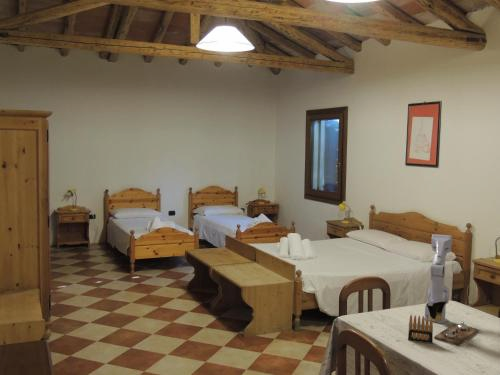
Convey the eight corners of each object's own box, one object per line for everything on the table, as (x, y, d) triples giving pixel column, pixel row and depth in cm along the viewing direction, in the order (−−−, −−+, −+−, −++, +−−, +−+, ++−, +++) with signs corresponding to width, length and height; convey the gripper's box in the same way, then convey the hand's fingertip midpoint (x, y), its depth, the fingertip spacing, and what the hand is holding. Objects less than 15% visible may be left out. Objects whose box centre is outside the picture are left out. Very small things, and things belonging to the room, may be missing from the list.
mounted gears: (442, 336, 234) (442, 329, 234) (459, 325, 249) (459, 319, 248) (453, 340, 231) (454, 333, 230) (470, 328, 245) (470, 322, 244)
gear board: (434, 338, 235) (434, 336, 235) (455, 325, 252) (455, 323, 252) (457, 345, 227) (458, 342, 227) (477, 331, 244) (478, 328, 244)
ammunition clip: (432, 341, 231) (433, 316, 230) (432, 343, 230) (433, 317, 229) (408, 338, 235) (409, 313, 234) (407, 340, 233) (408, 315, 232)
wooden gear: (427, 319, 244) (427, 313, 244) (432, 316, 248) (432, 310, 248) (439, 322, 240) (439, 316, 240) (444, 319, 244) (444, 313, 244)
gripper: (438, 294, 235) (437, 322, 236) (451, 287, 245) (450, 315, 247) (424, 291, 240) (423, 318, 241) (437, 284, 250) (436, 311, 252)
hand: (435, 316), depth 244 cm, fingers closed on wooden gear, 5 cm apart
